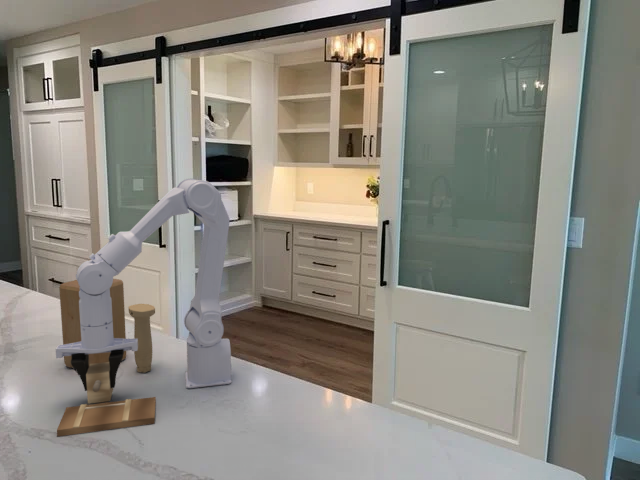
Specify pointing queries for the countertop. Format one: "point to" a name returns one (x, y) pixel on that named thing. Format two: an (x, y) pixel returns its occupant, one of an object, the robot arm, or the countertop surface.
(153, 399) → the walnut board
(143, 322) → the handle
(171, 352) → the countertop surface
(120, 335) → the wooden block
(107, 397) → the pale wood holed block
